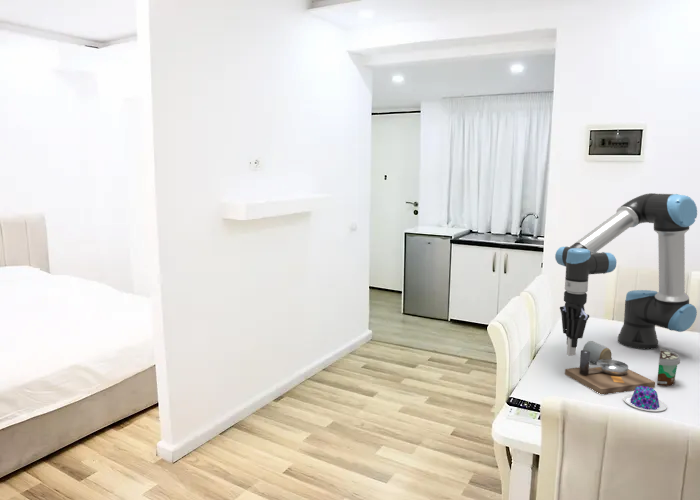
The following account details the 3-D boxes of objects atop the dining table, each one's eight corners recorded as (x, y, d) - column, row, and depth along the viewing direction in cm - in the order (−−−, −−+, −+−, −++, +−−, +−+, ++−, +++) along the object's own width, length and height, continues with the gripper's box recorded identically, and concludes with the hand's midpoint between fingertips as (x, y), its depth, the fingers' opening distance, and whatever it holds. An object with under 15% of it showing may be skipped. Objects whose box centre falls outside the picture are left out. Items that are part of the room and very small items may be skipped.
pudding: (626, 409, 160) (627, 393, 159) (620, 394, 171) (622, 379, 170) (670, 416, 155) (672, 400, 155) (662, 399, 167) (663, 384, 166)
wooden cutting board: (614, 368, 192) (615, 362, 192) (654, 387, 175) (655, 381, 175) (564, 374, 187) (565, 368, 186) (601, 394, 169) (601, 388, 169)
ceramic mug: (600, 368, 193) (601, 348, 191) (580, 360, 200) (582, 341, 198) (617, 363, 198) (619, 344, 197) (598, 356, 205) (599, 338, 204)
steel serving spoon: (613, 363, 190) (614, 342, 189) (634, 373, 181) (636, 351, 180) (570, 368, 186) (572, 347, 184) (590, 379, 176) (592, 356, 175)
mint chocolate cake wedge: (678, 390, 173) (680, 362, 171) (656, 386, 176) (659, 358, 174) (677, 378, 183) (680, 351, 182) (657, 374, 186) (660, 348, 185)
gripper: (554, 288, 189) (550, 349, 192) (579, 296, 176) (574, 362, 180) (572, 287, 191) (567, 347, 194) (597, 295, 178) (592, 360, 182)
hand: (571, 354), depth 187 cm, fingers closed
